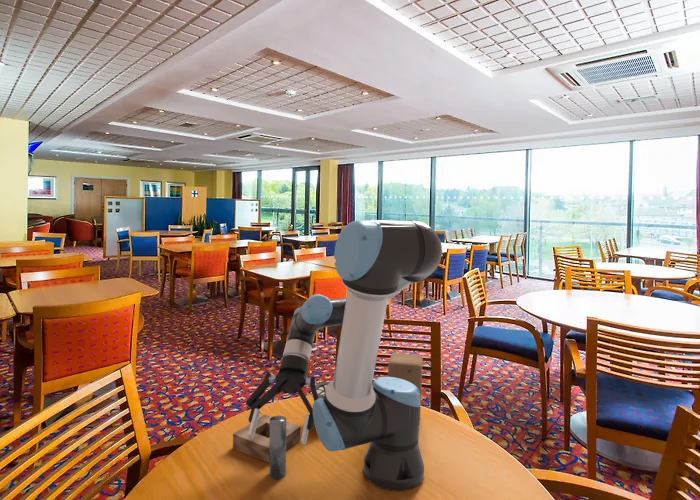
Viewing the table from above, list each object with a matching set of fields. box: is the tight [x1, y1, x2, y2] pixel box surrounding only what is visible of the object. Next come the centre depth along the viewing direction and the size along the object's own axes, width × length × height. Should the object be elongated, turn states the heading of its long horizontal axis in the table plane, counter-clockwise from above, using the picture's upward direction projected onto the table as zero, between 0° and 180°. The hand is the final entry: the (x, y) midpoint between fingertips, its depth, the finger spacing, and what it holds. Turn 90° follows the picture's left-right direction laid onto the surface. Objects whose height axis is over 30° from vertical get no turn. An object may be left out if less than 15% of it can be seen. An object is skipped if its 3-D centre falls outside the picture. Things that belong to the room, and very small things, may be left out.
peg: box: [268, 415, 287, 480], centre depth 103 cm, size 4×4×14 cm
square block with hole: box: [232, 414, 301, 463], centre depth 117 cm, size 13×13×4 cm
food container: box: [316, 380, 332, 398], centre depth 131 cm, size 12×6×10 cm, turn 172°
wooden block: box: [387, 352, 424, 424], centre depth 131 cm, size 10×10×20 cm
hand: (276, 440), depth 104 cm, fingers open, 13 cm apart
